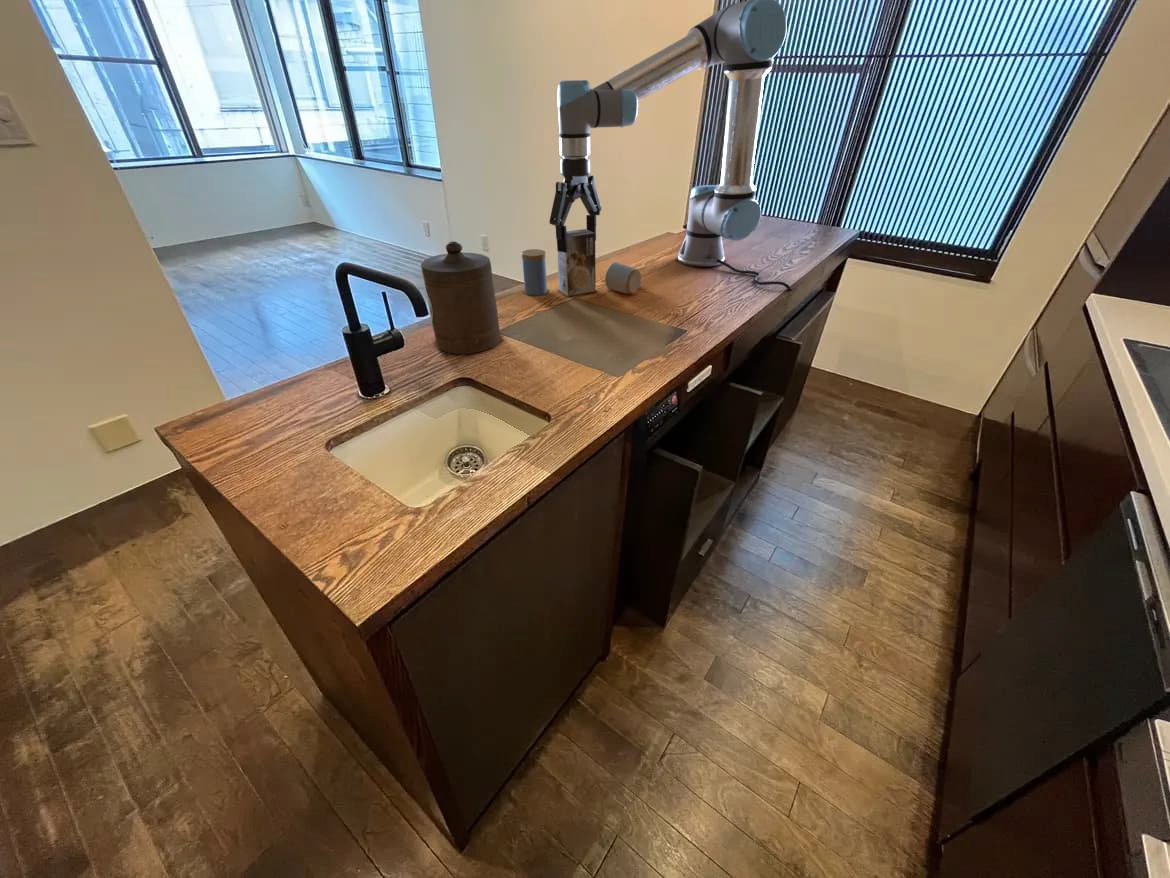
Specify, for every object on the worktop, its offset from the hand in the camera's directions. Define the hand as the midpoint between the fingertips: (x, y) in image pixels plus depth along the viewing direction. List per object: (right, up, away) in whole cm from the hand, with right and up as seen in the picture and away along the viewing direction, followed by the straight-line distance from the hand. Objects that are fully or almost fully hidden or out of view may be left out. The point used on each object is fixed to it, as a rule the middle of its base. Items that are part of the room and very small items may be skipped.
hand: (577, 245), depth 133 cm
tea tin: (-12, -10, +7) cm, 17 cm away
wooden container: (-25, -30, -20) cm, 44 cm away
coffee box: (0, -10, +8) cm, 13 cm away
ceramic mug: (+14, -10, +8) cm, 19 cm away
